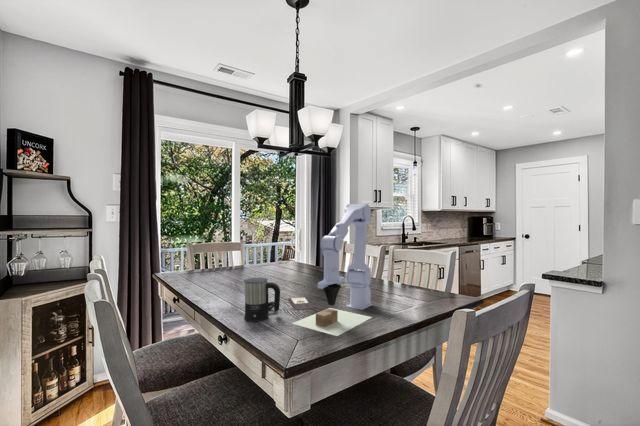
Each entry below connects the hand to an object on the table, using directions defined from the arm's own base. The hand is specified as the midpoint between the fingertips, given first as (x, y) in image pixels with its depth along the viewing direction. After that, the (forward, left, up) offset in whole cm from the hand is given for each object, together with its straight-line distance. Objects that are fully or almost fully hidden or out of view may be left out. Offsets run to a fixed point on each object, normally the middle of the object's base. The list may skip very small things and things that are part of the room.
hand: (331, 304), depth 121 cm
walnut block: (-1, 0, -4) cm, 4 cm away
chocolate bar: (-11, -24, -7) cm, 27 cm away
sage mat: (-1, 0, -6) cm, 6 cm away
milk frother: (+10, -28, -7) cm, 30 cm away
